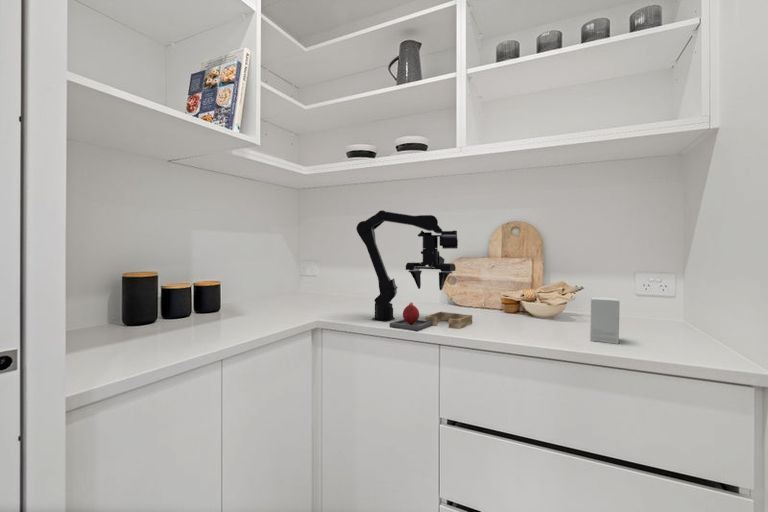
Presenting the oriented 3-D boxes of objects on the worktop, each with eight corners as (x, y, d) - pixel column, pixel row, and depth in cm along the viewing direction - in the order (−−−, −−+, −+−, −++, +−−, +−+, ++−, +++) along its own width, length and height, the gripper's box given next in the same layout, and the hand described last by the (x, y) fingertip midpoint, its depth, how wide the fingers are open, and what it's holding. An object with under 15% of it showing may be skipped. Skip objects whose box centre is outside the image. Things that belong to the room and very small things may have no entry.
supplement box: (619, 344, 105) (619, 300, 105) (589, 340, 109) (590, 298, 109) (618, 339, 111) (619, 297, 111) (590, 336, 115) (591, 296, 115)
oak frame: (425, 324, 132) (425, 316, 132) (440, 319, 142) (440, 311, 142) (459, 328, 125) (459, 320, 125) (472, 323, 135) (472, 315, 135)
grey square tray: (389, 327, 127) (389, 322, 127) (406, 322, 136) (406, 318, 136) (417, 331, 121) (417, 326, 121) (432, 325, 130) (432, 321, 130)
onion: (418, 327, 125) (417, 303, 125) (401, 326, 127) (401, 303, 126) (420, 323, 131) (420, 301, 131) (404, 322, 132) (404, 300, 132)
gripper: (461, 248, 140) (461, 289, 140) (418, 248, 151) (418, 286, 151) (449, 248, 131) (449, 291, 131) (404, 248, 142) (404, 288, 142)
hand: (429, 289), depth 139 cm, fingers open, 9 cm apart
